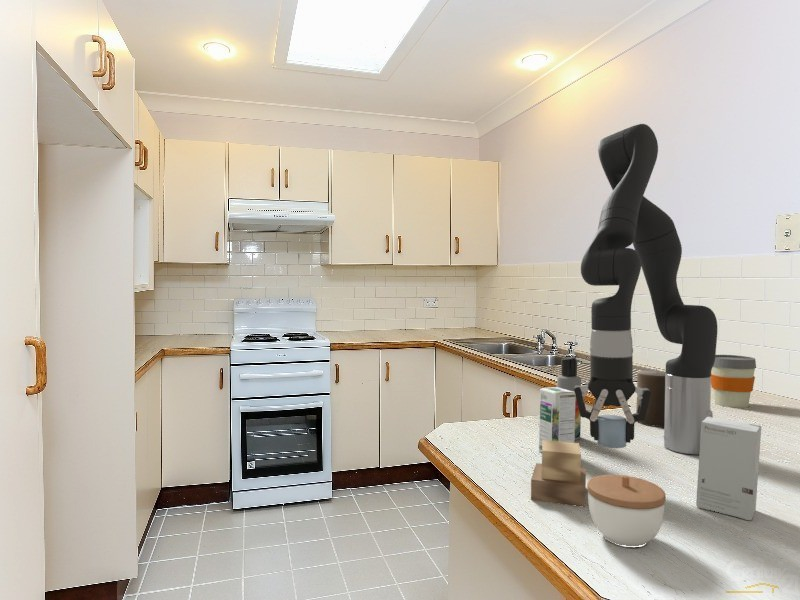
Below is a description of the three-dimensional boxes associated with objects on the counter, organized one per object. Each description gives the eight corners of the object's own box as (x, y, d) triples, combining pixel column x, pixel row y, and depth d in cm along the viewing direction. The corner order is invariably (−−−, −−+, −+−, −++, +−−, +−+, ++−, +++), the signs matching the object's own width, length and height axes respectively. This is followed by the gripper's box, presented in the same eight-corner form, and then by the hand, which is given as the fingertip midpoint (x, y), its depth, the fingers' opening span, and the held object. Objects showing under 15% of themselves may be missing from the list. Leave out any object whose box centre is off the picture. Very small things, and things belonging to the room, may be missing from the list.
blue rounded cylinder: (625, 440, 103) (625, 415, 102) (627, 449, 98) (627, 422, 98) (596, 438, 104) (596, 414, 104) (597, 446, 99) (597, 420, 99)
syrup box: (537, 451, 119) (538, 388, 118) (558, 448, 121) (559, 386, 121) (554, 459, 114) (555, 392, 113) (575, 455, 116) (576, 390, 115)
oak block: (578, 469, 97) (578, 443, 97) (580, 482, 91) (581, 454, 91) (542, 466, 99) (542, 440, 99) (541, 478, 93) (542, 450, 92)
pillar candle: (666, 429, 137) (668, 372, 137) (629, 421, 144) (631, 367, 144) (681, 423, 143) (682, 368, 143) (645, 416, 151) (646, 364, 150)
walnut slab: (585, 489, 98) (585, 468, 98) (584, 509, 89) (585, 486, 89) (536, 483, 101) (536, 463, 101) (530, 501, 92) (531, 479, 92)
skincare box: (695, 508, 89) (697, 421, 89) (703, 497, 94) (704, 414, 93) (755, 522, 84) (757, 430, 83) (759, 510, 88) (761, 422, 88)
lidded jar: (585, 548, 75) (586, 484, 75) (587, 517, 85) (588, 460, 85) (669, 562, 72) (670, 495, 71) (660, 528, 82) (661, 469, 81)
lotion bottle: (581, 441, 126) (583, 359, 126) (557, 439, 128) (558, 358, 127) (578, 434, 132) (579, 355, 131) (555, 433, 133) (556, 355, 132)
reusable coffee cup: (754, 403, 167) (755, 356, 167) (756, 411, 157) (757, 361, 156) (709, 398, 174) (709, 353, 174) (707, 405, 163) (708, 358, 163)
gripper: (649, 351, 102) (650, 437, 102) (571, 349, 106) (572, 432, 107) (655, 356, 94) (655, 449, 95) (571, 354, 99) (572, 443, 100)
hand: (611, 440), depth 101 cm, fingers closed on blue rounded cylinder, 5 cm apart
